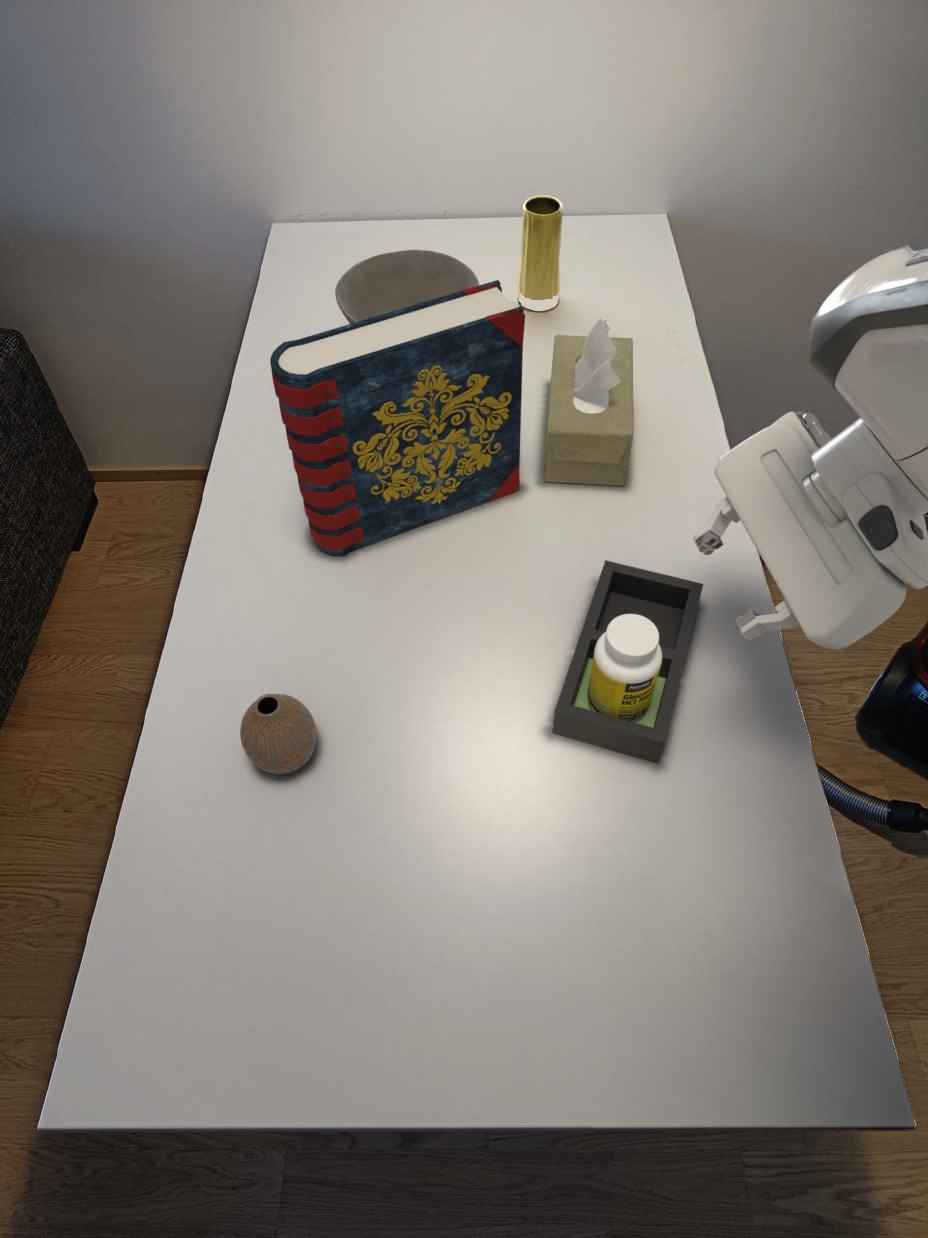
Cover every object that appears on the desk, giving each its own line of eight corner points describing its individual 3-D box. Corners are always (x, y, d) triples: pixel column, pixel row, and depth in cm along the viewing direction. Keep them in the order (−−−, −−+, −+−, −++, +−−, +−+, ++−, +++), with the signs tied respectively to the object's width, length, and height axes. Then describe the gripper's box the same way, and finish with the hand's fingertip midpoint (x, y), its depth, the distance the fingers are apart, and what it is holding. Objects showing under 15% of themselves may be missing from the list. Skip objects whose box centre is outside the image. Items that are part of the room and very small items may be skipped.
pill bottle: (620, 738, 84) (635, 675, 76) (573, 697, 87) (582, 632, 78) (663, 701, 87) (682, 635, 78) (616, 662, 90) (630, 595, 81)
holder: (658, 763, 84) (664, 742, 80) (552, 733, 86) (554, 711, 83) (696, 607, 95) (703, 583, 91) (601, 584, 97) (605, 560, 94)
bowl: (382, 414, 115) (374, 349, 107) (324, 338, 125) (312, 274, 117) (506, 367, 120) (506, 301, 112) (440, 298, 130) (436, 234, 122)
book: (323, 565, 100) (280, 387, 80) (303, 525, 103) (257, 345, 83) (522, 493, 105) (528, 311, 86) (496, 457, 109) (496, 275, 89)
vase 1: (334, 759, 85) (320, 712, 78) (270, 797, 83) (249, 753, 76) (300, 709, 88) (284, 660, 81) (238, 744, 86) (215, 696, 79)
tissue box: (625, 488, 105) (642, 380, 93) (543, 484, 106) (549, 376, 94) (625, 387, 117) (641, 279, 104) (551, 384, 118) (558, 276, 105)
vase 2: (552, 315, 127) (558, 220, 115) (511, 307, 128) (513, 212, 117) (564, 292, 130) (571, 197, 119) (525, 284, 131) (528, 190, 120)
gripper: (786, 383, 73) (656, 489, 79) (915, 568, 61) (749, 674, 67) (821, 416, 77) (694, 514, 84) (948, 596, 65) (788, 693, 71)
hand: (719, 587), depth 75 cm, fingers open, 8 cm apart
